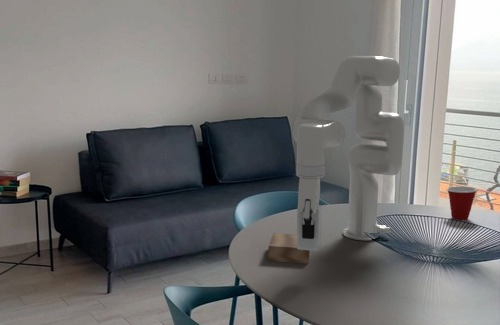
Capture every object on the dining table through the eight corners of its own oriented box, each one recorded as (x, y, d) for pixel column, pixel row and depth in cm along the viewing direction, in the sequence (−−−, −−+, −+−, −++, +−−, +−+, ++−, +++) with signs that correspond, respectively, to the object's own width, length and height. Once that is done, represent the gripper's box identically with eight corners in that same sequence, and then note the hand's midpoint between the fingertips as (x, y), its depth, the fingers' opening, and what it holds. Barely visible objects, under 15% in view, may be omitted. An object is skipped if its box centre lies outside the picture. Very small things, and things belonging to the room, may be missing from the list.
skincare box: (321, 246, 150) (322, 204, 147) (318, 252, 146) (319, 209, 143) (300, 244, 152) (300, 202, 149) (296, 249, 148) (296, 207, 145)
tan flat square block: (310, 250, 172) (311, 235, 171) (308, 264, 160) (309, 248, 159) (273, 248, 173) (273, 233, 172) (268, 261, 162) (268, 245, 161)
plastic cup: (452, 212, 215) (455, 183, 212) (479, 218, 207) (482, 188, 205) (438, 217, 207) (441, 187, 205) (466, 224, 200) (468, 192, 197)
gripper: (300, 162, 153) (299, 224, 157) (291, 176, 137) (291, 245, 141) (327, 163, 151) (325, 226, 155) (321, 178, 135) (320, 247, 139)
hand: (309, 234), depth 148 cm, fingers closed on skincare box, 4 cm apart
